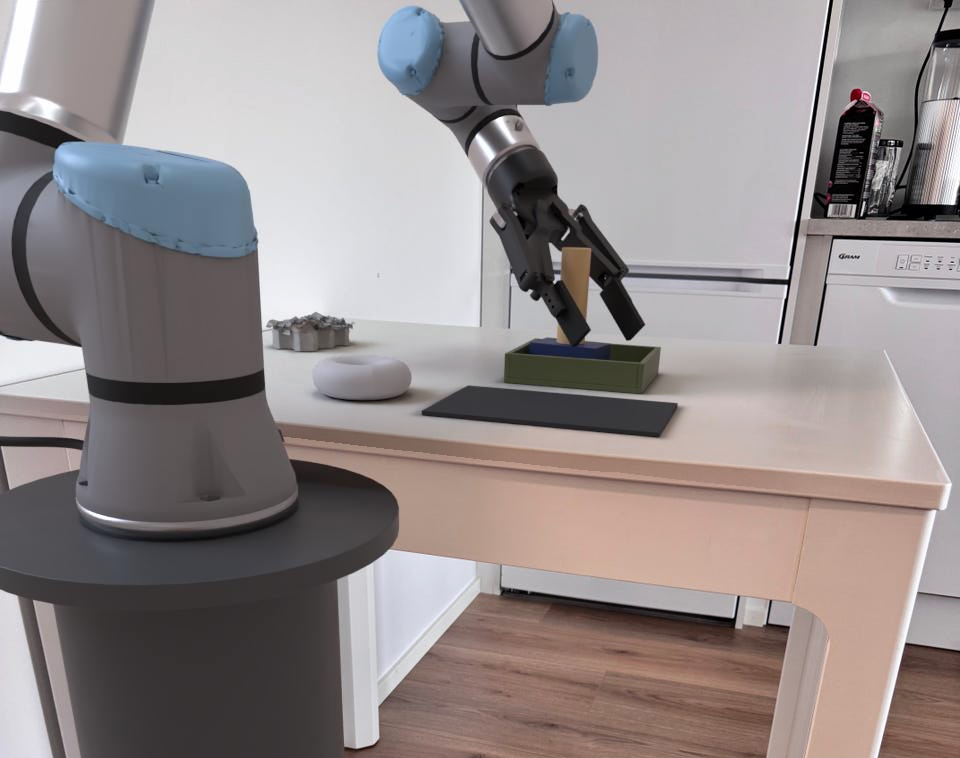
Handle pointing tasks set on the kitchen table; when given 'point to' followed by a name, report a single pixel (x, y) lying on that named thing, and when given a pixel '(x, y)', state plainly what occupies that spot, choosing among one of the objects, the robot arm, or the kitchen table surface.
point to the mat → (556, 410)
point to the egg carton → (310, 332)
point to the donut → (361, 377)
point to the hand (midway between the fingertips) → (609, 335)
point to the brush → (577, 283)
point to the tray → (585, 369)
